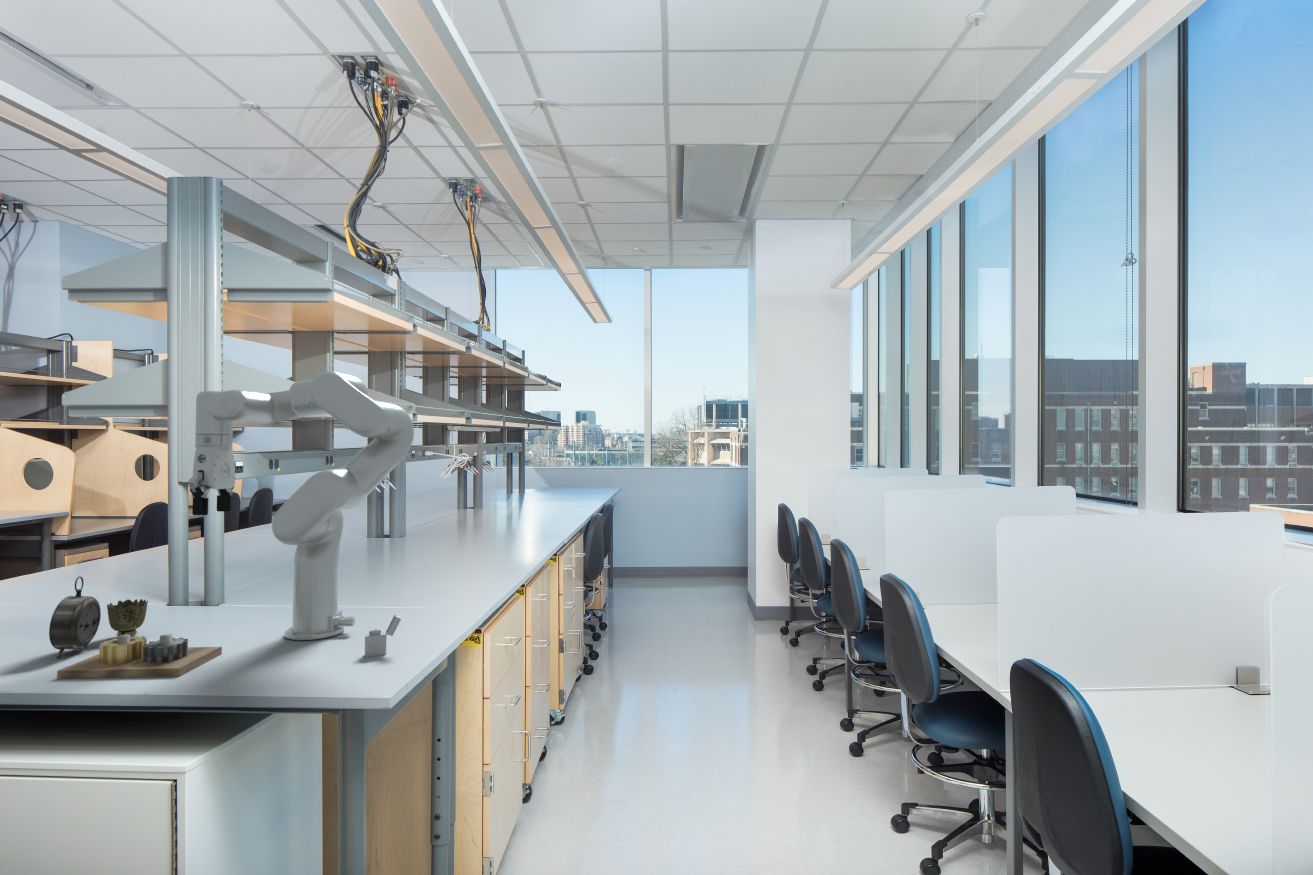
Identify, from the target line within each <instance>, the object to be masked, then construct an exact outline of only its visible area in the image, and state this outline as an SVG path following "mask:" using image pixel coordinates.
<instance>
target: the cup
mask: <svg viewBox="0 0 1313 875" xmlns="http://www.w3.org/2000/svg"><path fill="white" fill-rule="evenodd" d="M148 602H149V600H148V599H147V600H146V599H142V598H141V599H139V600H138V599H137V598H136V599H134V600H133V601H132V600H131V599H126V600H124V601H122V600H117V604H113V603H112V602H110V603H109V604H108V603H107V604H106V608H107V616H108V623H109V626H110V628H111V629H112V630H113V631H116V632H117V633H116V636H117V637H118V636H120V635H130V637H133V636H137V633H138V630H137V629H139V628H140V627H141V626H142V625H143V624H144V622H145V620H146V614H147V608H148Z"/></svg>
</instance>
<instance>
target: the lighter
mask: <svg viewBox="0 0 1313 875" xmlns="http://www.w3.org/2000/svg"><path fill="white" fill-rule="evenodd" d="M401 620H402V616H400V615H397V614H394V615H393V617H392V619H391V621H390V623H389V625H388V626H387V627H388V628H387V629H386V631H385V632H382V630H381V628H377V629H371V630H369V631H368V634H364V657H365V658H368V657H376V656H377V657H378V656H384V655H385V656H386V655H387V635H388V636H391V637H393V636H394V634H395V632H396V630H397V628H398V626H399V624H400V622H401Z"/></svg>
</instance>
